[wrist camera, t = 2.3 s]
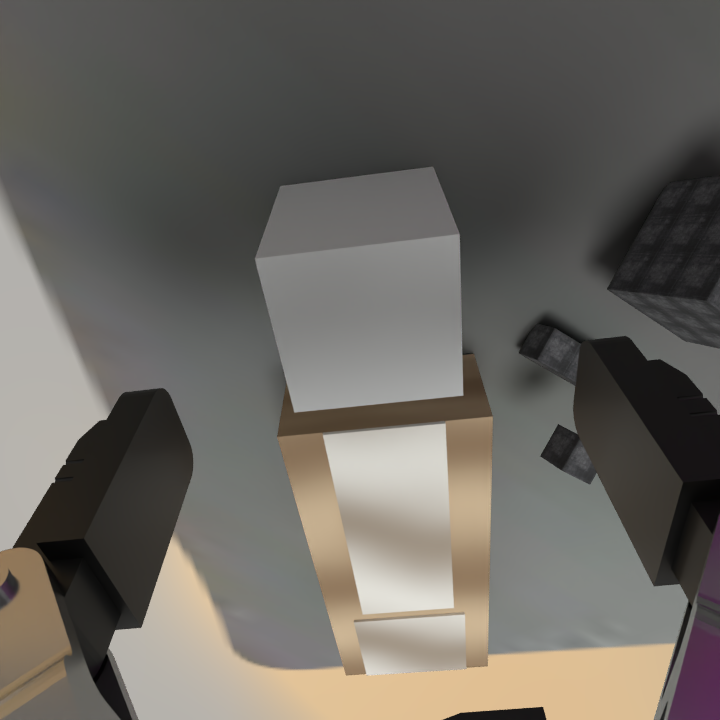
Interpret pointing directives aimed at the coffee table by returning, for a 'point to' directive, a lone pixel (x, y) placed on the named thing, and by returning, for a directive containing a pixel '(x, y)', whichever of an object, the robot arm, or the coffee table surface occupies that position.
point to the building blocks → (650, 294)
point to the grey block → (364, 290)
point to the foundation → (399, 525)
